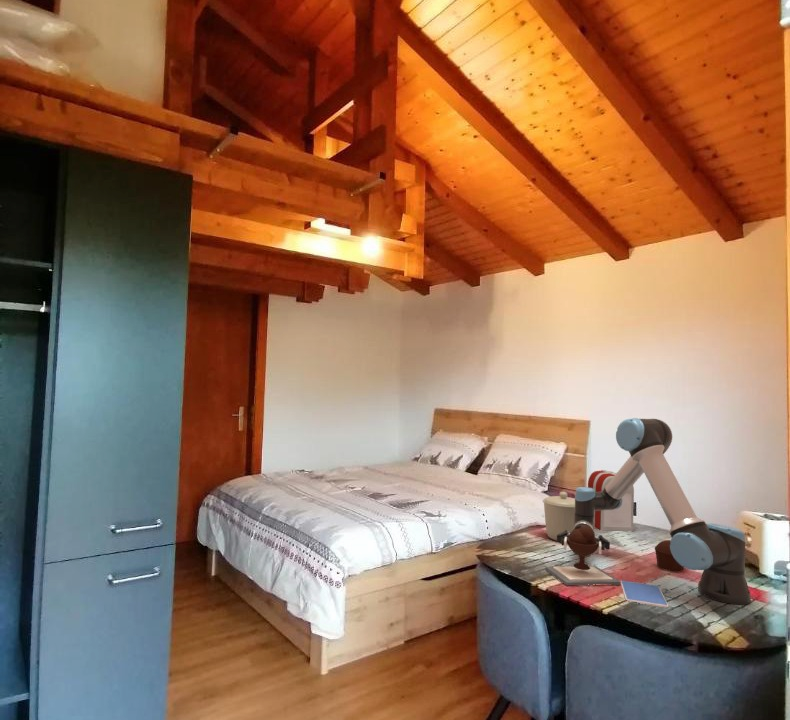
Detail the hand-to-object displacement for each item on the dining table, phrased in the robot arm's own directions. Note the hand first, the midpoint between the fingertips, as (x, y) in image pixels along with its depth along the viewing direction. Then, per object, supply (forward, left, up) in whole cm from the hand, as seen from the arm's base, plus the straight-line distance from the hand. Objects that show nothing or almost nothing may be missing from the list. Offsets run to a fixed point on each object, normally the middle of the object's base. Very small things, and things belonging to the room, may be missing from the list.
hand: (582, 547), depth 190 cm
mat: (+3, -2, -11) cm, 12 cm away
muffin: (+12, -44, -12) cm, 47 cm away
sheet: (+3, -2, -10) cm, 11 cm away
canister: (+51, -19, -12) cm, 56 cm away
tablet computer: (-13, -15, -12) cm, 23 cm away
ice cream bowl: (+4, -2, -8) cm, 9 cm away
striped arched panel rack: (+72, -55, -12) cm, 92 cm away
